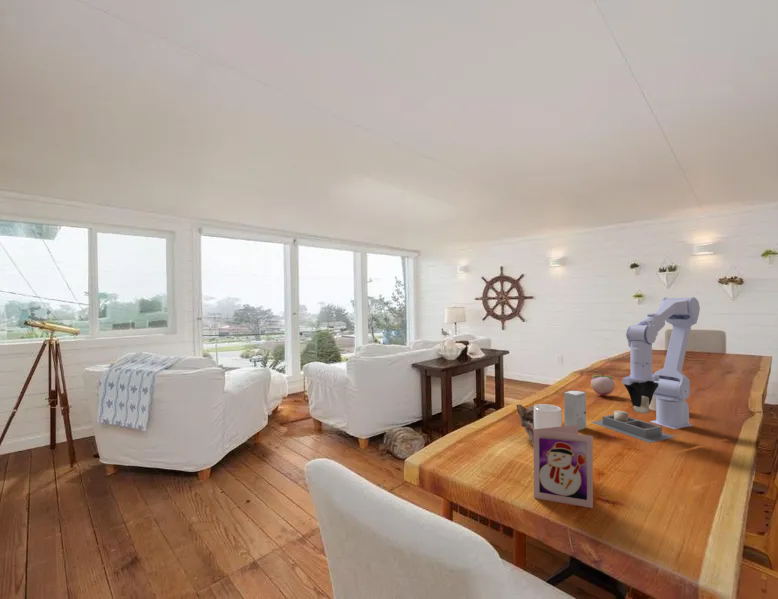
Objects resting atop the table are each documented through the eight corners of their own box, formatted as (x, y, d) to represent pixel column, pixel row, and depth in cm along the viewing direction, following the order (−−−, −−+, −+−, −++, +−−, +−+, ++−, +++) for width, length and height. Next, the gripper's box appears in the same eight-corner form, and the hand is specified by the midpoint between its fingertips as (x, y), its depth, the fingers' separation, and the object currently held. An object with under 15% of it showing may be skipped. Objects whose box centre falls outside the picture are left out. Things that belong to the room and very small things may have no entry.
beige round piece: (619, 423, 128) (619, 410, 128) (630, 426, 124) (630, 413, 124) (611, 424, 127) (611, 411, 127) (622, 428, 123) (622, 414, 123)
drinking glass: (559, 473, 93) (559, 412, 93) (531, 466, 97) (531, 408, 97) (563, 462, 99) (563, 406, 99) (536, 457, 103) (536, 402, 102)
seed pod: (525, 407, 126) (504, 402, 116) (575, 406, 116) (558, 400, 106) (528, 449, 121) (507, 448, 111) (581, 451, 111) (563, 450, 101)
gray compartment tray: (615, 419, 134) (615, 410, 134) (675, 438, 115) (675, 428, 115) (590, 423, 129) (590, 414, 129) (650, 444, 111) (650, 434, 111)
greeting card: (533, 499, 81) (533, 430, 81) (533, 483, 88) (533, 420, 88) (593, 510, 77) (593, 437, 77) (588, 492, 84) (588, 425, 84)
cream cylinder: (639, 408, 122) (639, 395, 122) (652, 412, 118) (651, 398, 118) (630, 410, 120) (630, 396, 120) (643, 413, 117) (643, 399, 117)
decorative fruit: (595, 398, 161) (595, 375, 161) (588, 393, 169) (588, 371, 169) (618, 399, 160) (618, 375, 160) (610, 394, 168) (610, 371, 168)
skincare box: (576, 432, 121) (576, 395, 121) (563, 428, 125) (563, 392, 125) (586, 428, 124) (586, 392, 124) (573, 425, 128) (573, 389, 128)
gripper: (638, 366, 113) (638, 411, 113) (669, 362, 118) (669, 405, 118) (616, 362, 119) (616, 405, 119) (646, 359, 125) (646, 400, 125)
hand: (641, 405), depth 119 cm, fingers closed on cream cylinder, 4 cm apart
